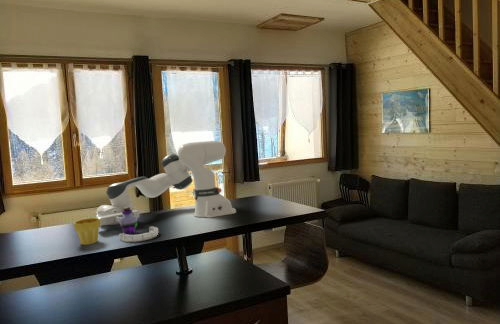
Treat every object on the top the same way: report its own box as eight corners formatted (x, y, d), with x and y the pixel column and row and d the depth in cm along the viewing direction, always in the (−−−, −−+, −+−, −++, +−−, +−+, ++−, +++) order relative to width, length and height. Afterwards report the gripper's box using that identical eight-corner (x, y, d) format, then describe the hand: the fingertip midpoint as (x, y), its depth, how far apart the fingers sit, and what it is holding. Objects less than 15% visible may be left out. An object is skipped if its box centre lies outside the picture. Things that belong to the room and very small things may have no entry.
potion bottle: (139, 233, 184) (136, 208, 183) (119, 236, 182) (116, 210, 180) (138, 229, 192) (136, 204, 191) (119, 231, 190) (117, 206, 189)
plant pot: (87, 247, 168) (84, 224, 167) (71, 245, 173) (68, 222, 172) (107, 240, 177) (104, 218, 176) (91, 238, 182) (88, 217, 181)
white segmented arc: (119, 239, 176) (119, 234, 176) (153, 231, 186) (152, 226, 186) (129, 244, 167) (129, 238, 167) (164, 235, 178) (164, 229, 177)
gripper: (133, 217, 207) (145, 221, 196) (93, 226, 194) (103, 230, 183) (132, 205, 206) (144, 208, 195) (92, 213, 193) (101, 216, 183)
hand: (124, 219), depth 189 cm, fingers closed, pressing on potion bottle
